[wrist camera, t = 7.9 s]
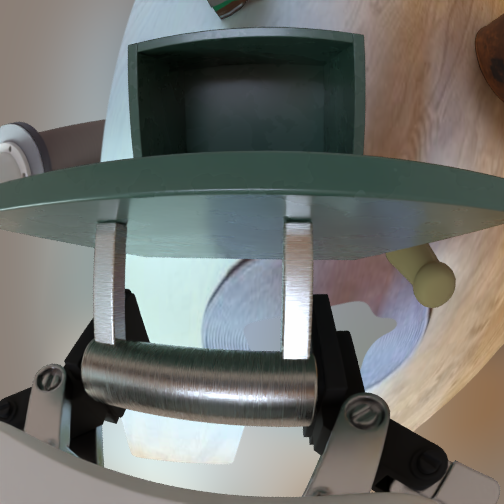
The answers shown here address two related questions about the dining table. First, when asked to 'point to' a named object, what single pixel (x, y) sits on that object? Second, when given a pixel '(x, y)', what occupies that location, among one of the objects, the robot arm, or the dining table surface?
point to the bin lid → (236, 257)
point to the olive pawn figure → (424, 274)
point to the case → (492, 54)
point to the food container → (226, 7)
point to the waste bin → (248, 92)
